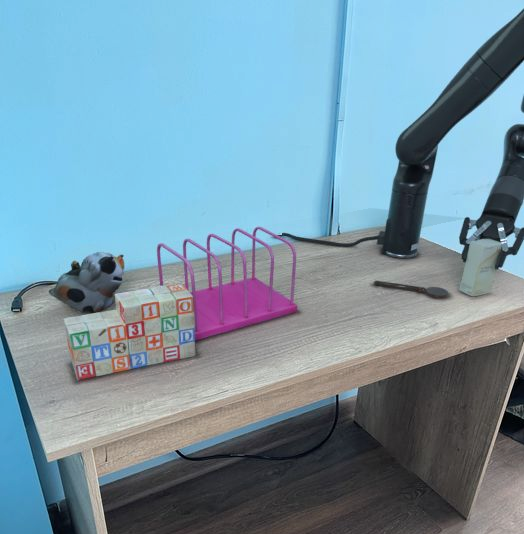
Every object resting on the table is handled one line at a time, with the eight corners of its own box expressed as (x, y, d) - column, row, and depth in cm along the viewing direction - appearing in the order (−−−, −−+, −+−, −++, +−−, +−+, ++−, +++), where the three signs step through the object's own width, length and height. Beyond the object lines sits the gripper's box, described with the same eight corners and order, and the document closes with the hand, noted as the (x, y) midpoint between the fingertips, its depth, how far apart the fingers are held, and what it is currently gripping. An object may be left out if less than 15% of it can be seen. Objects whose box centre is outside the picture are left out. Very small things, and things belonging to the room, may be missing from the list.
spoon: (372, 289, 126) (372, 284, 125) (375, 281, 130) (375, 276, 129) (447, 300, 121) (448, 295, 121) (447, 291, 126) (448, 287, 125)
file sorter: (157, 307, 115) (151, 237, 107) (254, 284, 127) (255, 219, 119) (193, 342, 102) (189, 266, 94) (297, 312, 114) (302, 242, 106)
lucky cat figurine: (75, 286, 123) (98, 233, 119) (119, 312, 122) (143, 260, 118) (36, 295, 109) (61, 234, 104) (86, 324, 108) (112, 265, 104)
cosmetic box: (472, 297, 122) (484, 247, 116) (457, 290, 126) (469, 241, 119) (491, 292, 125) (504, 243, 119) (477, 285, 128) (489, 237, 122)
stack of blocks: (77, 381, 90) (65, 317, 84) (71, 363, 95) (59, 301, 88) (196, 355, 98) (193, 295, 92) (185, 340, 103) (182, 281, 97)
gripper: (472, 187, 123) (447, 250, 120) (539, 197, 116) (514, 264, 114) (473, 204, 129) (449, 264, 127) (536, 215, 123) (512, 279, 120)
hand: (480, 264), depth 120 cm, fingers closed on cosmetic box, 6 cm apart
